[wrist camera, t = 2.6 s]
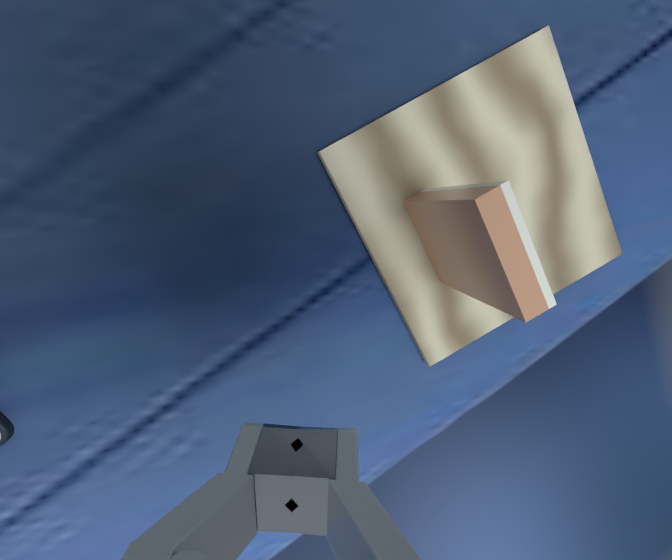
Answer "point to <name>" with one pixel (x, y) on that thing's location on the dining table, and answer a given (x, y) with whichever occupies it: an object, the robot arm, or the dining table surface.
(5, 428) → the phone case
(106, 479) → the dining table surface
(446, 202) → the tile
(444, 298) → the board
